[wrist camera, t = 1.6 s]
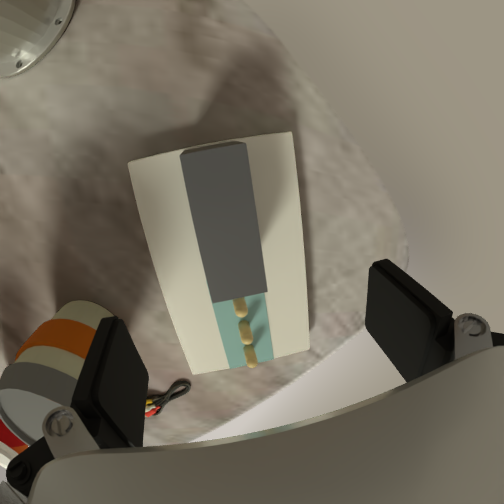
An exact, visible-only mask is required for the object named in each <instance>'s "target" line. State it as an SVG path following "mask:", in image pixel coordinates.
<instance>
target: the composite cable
mask: <svg viewBox="0 0 504 504" xmlns="http://www.w3.org/2000/svg"><path fill="white" fill-rule="evenodd" d="M180 386H185V387H186V388H185V389H184V390H182V391H180V392H178V393H175V394H173V393H174V391H175V390H176V389H177V388H179V387H180ZM189 391H190V384H189V383H188V382H186V381H178V382H175V383H174V384H173V385H172V386H171V387H170V389H169V390H168V392H167V393H166V394H165V395H163V396H160V395H157V396H151V397H148V398H147V399H146V409H145V417H149V416H151V415H154V416H155V415H158V414H160V413H161V411H162V409H163V408H164V406H165V405H166V404H167V403H168V402H169V401H171V400H173V399H175V398H178V397H180V396H182V395H184V394H186V393H188V392H189ZM161 405H162V406H161ZM160 407H161V408H160ZM159 408H160V409H159ZM157 409H159V410H158V411H157Z"/></svg>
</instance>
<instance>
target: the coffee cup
mask: <svg viewBox="0 0 504 504" xmlns="http://www.w3.org/2000/svg"><path fill="white" fill-rule="evenodd" d="M27 448H28V445H27V444H25V443H24V442H23V441H21V440H20V439H19V438H18V437H17V436H15V435H14V434H13V433H12V432H11V431H10V430H9V429H8V428H7V427H6V425H5V424H4V423H3V422H2V420H1V419H0V466H2V467H4V468H6V469H7V466H8V464H9V462H10V461H11V460H12V459H13V458H14V457H16V456H17V455H18V454H20V453H21V452H23V451H24V450H25V449H27Z"/></svg>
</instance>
